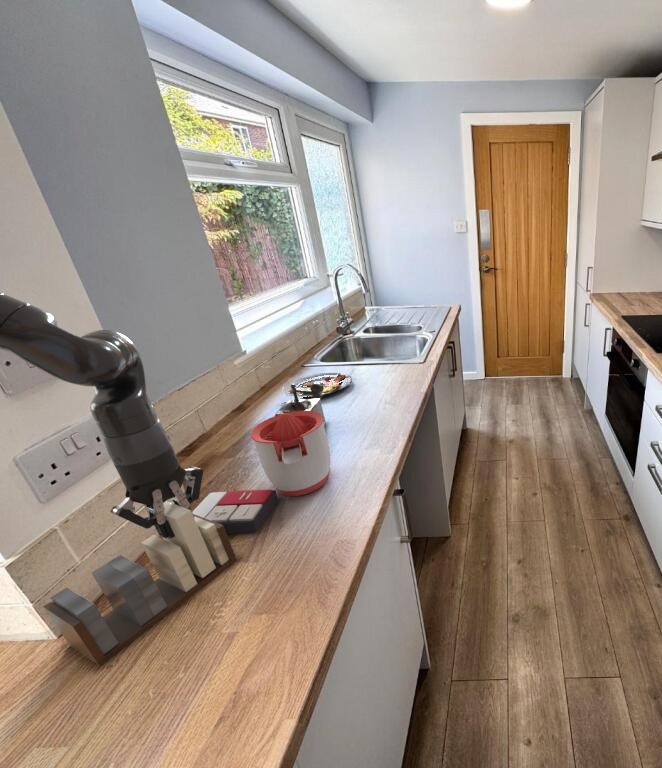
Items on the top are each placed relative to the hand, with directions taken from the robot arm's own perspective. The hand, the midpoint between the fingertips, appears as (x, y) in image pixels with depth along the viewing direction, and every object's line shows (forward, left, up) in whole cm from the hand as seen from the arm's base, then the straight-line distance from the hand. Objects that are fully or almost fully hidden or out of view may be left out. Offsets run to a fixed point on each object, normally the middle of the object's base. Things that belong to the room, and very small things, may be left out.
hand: (178, 530), depth 74 cm
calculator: (-8, +13, -11) cm, 19 cm away
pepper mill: (-23, +49, -11) cm, 55 cm away
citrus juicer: (-3, +28, -11) cm, 30 cm away
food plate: (-49, +76, -11) cm, 91 cm away
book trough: (0, -6, -10) cm, 12 cm away
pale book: (0, 0, -9) cm, 9 cm away
